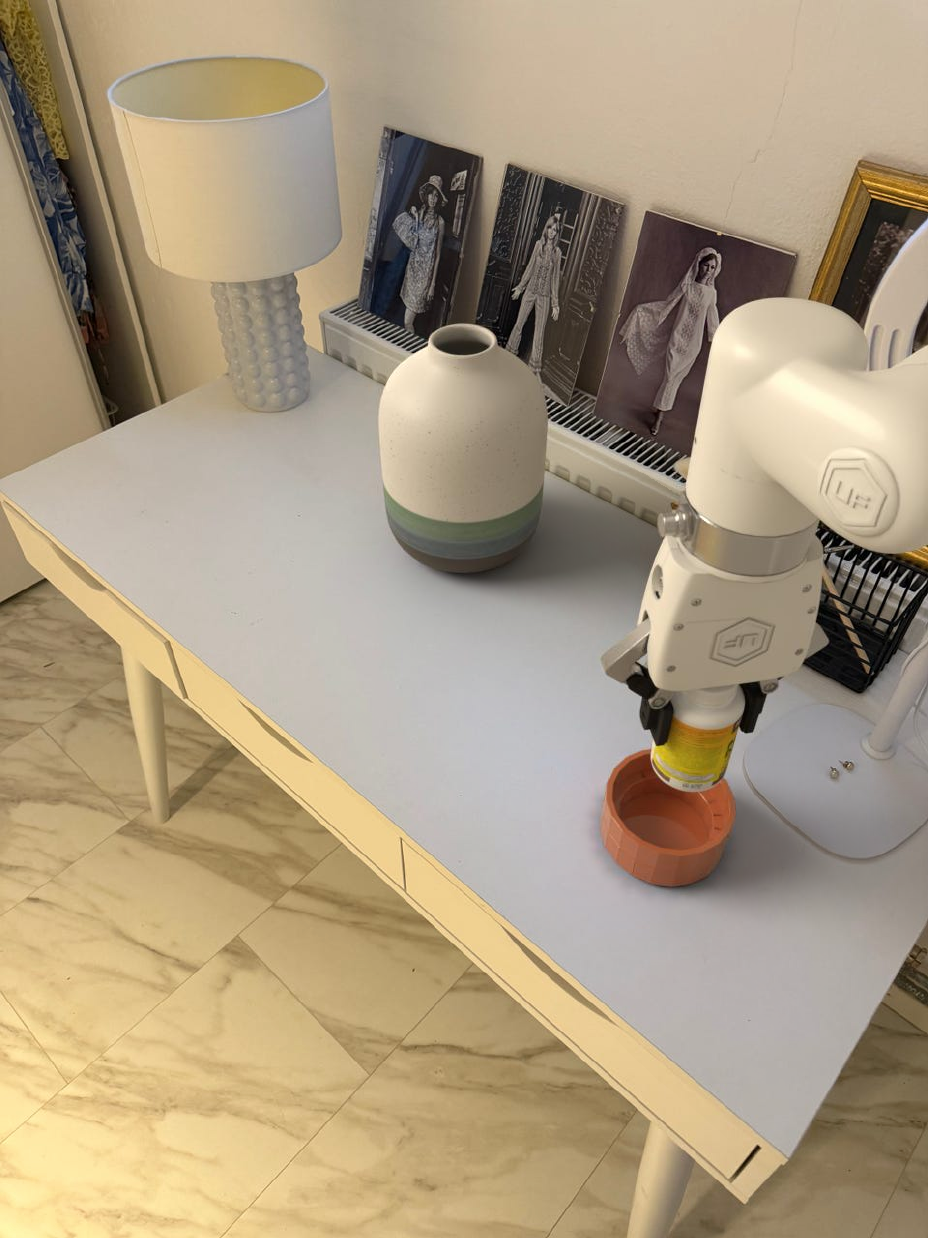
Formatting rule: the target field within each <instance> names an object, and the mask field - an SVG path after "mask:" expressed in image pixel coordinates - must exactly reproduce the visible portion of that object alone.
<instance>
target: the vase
mask: <svg viewBox="0 0 928 1238" xmlns="http://www.w3.org/2000/svg"><path fill="white" fill-rule="evenodd" d="M548 415H549V414H548V404H547V399H546V396H545V392H544V390H543V387H542V384H541V383H540V381H539V379H538V377H537V376H536V374H535V372H534V371H533V370H532V369H531V367H529V366H528V365H527V364H526V363H525V361H523V360H522V359H520V358H519V357H518V356H516V355H515V354H513V353H512V352H510V351H508V349H505V348H503V347H501V346H499V345H498V339H497V337H496V335H495V334H494V332H493V331H491V330H490V329H489V328H486V327H484V326H482V325H477V324H472V323H454V324H449V325H445V326H442V327H439V328H438V329H436V330H434V332H432V333H431V334H430V335H429V338H428V342H427V345H426V346H425V347H423V348H422V349H421V348H420V349H419V350H418V351H416V352H415V353H413V354H411V355H410V356H408V357H407V358H406V359H404V360H403V361H402V362H401V363H400V364H399V365H398V366H397V367H396V368H395V369H394V370H393V372H392V373H391V374H390V376H389V377H388V379H387V381H386V383H385V386H384V387H383V391H382V394H381V397H380V400H379V407H378V417H377V420H378V421H377V423H378V424H377V426H378V441H379V452H380V453H379V454H380V466H381V477H382V490H383V501H384V508H385V514H386V515H385V516H386V518H387V522H388V525H389V526H388V527H389V528H390V530H391V533H392V535H393V536H394V538H395V540H396V541H397V543H398V544H399V546H400V547H401V548H402V549H403V551H404V552H405V553H406V554H407V555H409V556H410V557H411V558H412V559H414V560H415V561H417V562H419V563H421V565H422V564H423V565H424V566H427V567H429V568H432V569H435V570H439V571H442V572H446V573H447V572H449V573H455V574H456V573H458V574H471V573H478V572H479V573H480V572H484V571H488V570H491V569H495V568H498V567H500V566H502V565H504V564H506V563H508V562H510V561H512V560H513V559H514V558H516V557H517V556H518V555H519V554H521V552H523V550H525V548H527V546H528V544H529V543H530V541H531V540H532V538H533V537H534V535H535V532H536V531H537V528H538V525H539V522H540V518H541V514H542V507H543V506H542V505H543V499H544V488H545V487H544V486H545V474H546V473H545V472H546V459H547V445H548V428H549V416H548Z"/></svg>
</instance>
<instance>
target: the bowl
mask: <svg viewBox="0 0 928 1238" xmlns="http://www.w3.org/2000/svg"><path fill="white" fill-rule="evenodd" d="M651 749H652V748H646V749H642V750H639V751H636V752H634V753H632V754H630V755H628V756H626V757H625V758H624V759H623V760H621V761H620V762H619V763H618V764H617V765H616V766H615V767H614V768H613V769H612V771H611V774H610V775H609V778H608V780H607V782H606V786H605V791H604V798H603V803H602V809H601V814H600V826H599V827H600V829H599V830H600V835H601V839H602V841H603V844H604V847H605V850H606V851H607V852H608V853H609V855H610V857H611V858H612V860H613V861H614V862H615V863H616V864H617V865H618V866H619V867H621V869H623V870H624V871H626V873H628V874H629V875H631V876H632V877H634V878H637V879H640V880H641V881H644V882H646V883H648V884H651V885H655V886H663V887H671V888H672V887H679V886H680V887H681V886H685V885H686V886H687V885H692V884H694V883H695V882H698V881H700V880H702V879H704V878H706V877H707V876H709V875H710V873H712V871H713V870H714V869H715V868H716V867H717V866H718V865H719V864H720V862H721V859H722V856H723V853H724V850H725V848H726V845H727V842H728V840H729V836H730V834H731V831H732V829H733V826H734V822H735V819H736V815H737V814H736V799H735V796H734V794H733V792H732V790H731V787H730V785H729V783H728V781H727V780H726V778H724V777H723V778H722V780H721V781H720V782H719V783H718V784H717V785H716V786H714V787H713V788H711V789H708V790H705V791H701V792H686V791H681V790H678V789H675V788H673V787H671V786H669V785H668V784H666V783H665V782H664V781H662V780H661V779H660V778H659V776H658V775H657V774H656V772H655V771H654V769H653V766H652V763H651Z"/></svg>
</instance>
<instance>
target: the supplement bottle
mask: <svg viewBox="0 0 928 1238" xmlns="http://www.w3.org/2000/svg"><path fill="white" fill-rule="evenodd" d="M670 701H671V703H672V705H673V709H674V713H673V717H672V722H671V727H670V731H669V736H668V741H667V743H665V745H663V746H656V744H655V742H654V739H653V738H652V739H653V740H652V743H651V744H652V745H651V748H650V749H651V763H652V766H653V769H654V771H655V772H656V774H657V775H658V776H659V778H660V779H661V780H662V781H664V782H665V783H666V784H668V785H669V786H671V787H673V788H675V789H678V790H681V791H686V792H701V791H705V790H708V789H711V788H713V787H714V786H716V785H717V784H718V783H719V782H720V781H721V780H722V778H724V777H725V775H726V772H727V768H728V766H729V762H730V760H731V756H732V753H733V749H734V745H735V742H736V739H737V735H738V731H739V729H740V728H739V725H740V722H741V718H742V715H743V712H744V707H745V696H744V692H743V690H742V688H741V686H740V685H739V684H734V685H727V686H719V687H712V688H704V689H696V690H686V691H675V693H674V694H673V696H672V697H671V699H670Z"/></svg>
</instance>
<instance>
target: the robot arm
mask: <svg viewBox="0 0 928 1238" xmlns="http://www.w3.org/2000/svg"><path fill="white" fill-rule="evenodd" d="M869 353H870V347H869V340H868V338H867V336H866V333H865V331H864V329H863V328H862V327H861V326H860V324H859V323H858V322H857V321H856V320H855V319H853V317H852V316H850V315H849V314H847V313H846V312H844V311H843V310H841V309H839V308H836V307H834V306H832V305H829V304H826V303H823V302H819V301H816V300H811V299H804V298H797V297H782V296H781V297H768V298H767V297H766V298H760V299H756V300H753V301H752V300H751V301H750V302H747V303H744V304H742V305H740V306H738V307H737V308H734V309H733V310H732V311H731V312H729V313H728V314H727V315H725V317H724V318H723V320H722V321H721V322H720V323H719V324H718V326H717V328H716V330H715V332H714V334H713V337H712V341H711V345H710V350H709V355H708V359H707V366H706V371H705V375H704V382H703V389H702V394H701V398H700V403H699V408H698V415H697V416H698V417H697V421H696V426H695V432H694V438H693V443H692V449H691V453H690V460H689V465H688V471H687V477H686V482H685V486H684V490H681V491H680V497H679V503H678V506H677V507H676V508H675V509H671V510H670V511H669V512H665V513H659V514H658V515H657V519H656V520H657V521H656V525H657V530H658V531H657V532H658V534H659V536H660V537H662V538H663V541H662V542H661V544H660V547H659V549H658V551H657V554H656V556H655V559H654V561H653V564H652V567H651V569H650V572H649V575H648V579H647V583H646V585H645V588H644V592H643V595H642V600H641V605H640V608H639V609H640V610H639V614H638V618H637V624H636V627H634V628H633V629H632V630H631V631H629V632H628V633H627V634H626V635H625V636H624V637H623V638H621V639H620V640H619V641H618V642H617V643H615V644H614V645H613V646H611V648H609V649H608V650H607V651H606V652H604V654H602V655H601V656H600V662H601V665H602V668H603V670H604V673H605V675H606V676H608V677H609V678H611V679H613V680H615V681H616V682H619V683H620V684H625V685H626V686H627V688H628V689H629V690H630V691H631V692H633V693H635V694H636V695H638V696H639V697H641V700H640V705H639V712H638V714H639V721H640V724H641V726H642V729H643V730H644V731H650V734H651V736H652V737H651V738H652V739H654V742H655V744H656V746H663V745H665V743H667V741H668V736H669V731H670V727H671V722H672V717H673V713H674V709H673V705H672V703H671V701H670V699H671V697H672V696H673V694H674V693H675V691H686V690H696V689H704V688H712V687H719V686H727V685H734V684H739V685H740V686H741V688H742V690H743V692H744V696H745V707H744V712H743V715H742V718H741V722H740V725H739V728H738V729H739V730H740V731H741V733H744V734H746V735H747V734H753V733H754V732H755V729H756V725H757V721H758V718H759V715H761V714H762V712H763V709H764V705H765V702H766V699H767V696H768V695H769V694H773V693H774V692H776V691H777V690H778V689H779V687H780V683H779V682H780V680H781V679H783V678H785V677H786V676H788V675H791V674H793V673H795V672H796V671H798V670H799V669H800V668H801V667H802V665H803V663H804V661H805V660H806V659H808V658H810V657H812V656H813V655H814V654H817V652H819V651H821V650H822V649H824V648H825V647H827V646H828V644H829V643H830V640H829V637H828V636H827V634H826V632H825V631H824V629H823V628H822V627H821V625H820V624H818V623H817V622H816V621H817V617H818V612H819V607H820V601H821V596H822V595H821V594H822V584H823V573H824V572H823V571H824V546H823V544H822V541H821V540H820V538H819V537H818V536H817V535H816V533H817V529H818V526H819V524H820V521H821V522H822V523H823V524H824V525H825V526H827V527H828V528H829V529H831V530H832V531H833V532H835V533H836V534H838V535H839V536H841V537H842V538H844V539H845V540H847V541H849V542H850V543H852V544H854V545H855V546H856V545H857V546H858V547H860V548H863V549H865V550H867V551H871V552H875V553H880V554H888V555H889V554H893V555H895V554H897V555H898V554H904V553H909V552H913V551H917V550H920V549H922V548H925V547H927V546H928V344H927V345H925V346H923V347H922V348H920V349H918V350H916V351H914V353H912V354H911V355H908V356H907V357H905V358H904V359H902V360H901V361H900V362H898V363H897V364H895V365H893V366H892V367H890V368H885V369H884V368H882V369H876V370H875V369H874V370H869V371H867V367H868V364H869V356H870V355H869ZM645 655H646V658H647V659H646V661H645V663H644V664H643V665H642V664H641V663H640V662H638V661H639V660H641V659H642V658H643V657H644V656H645Z"/></svg>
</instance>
